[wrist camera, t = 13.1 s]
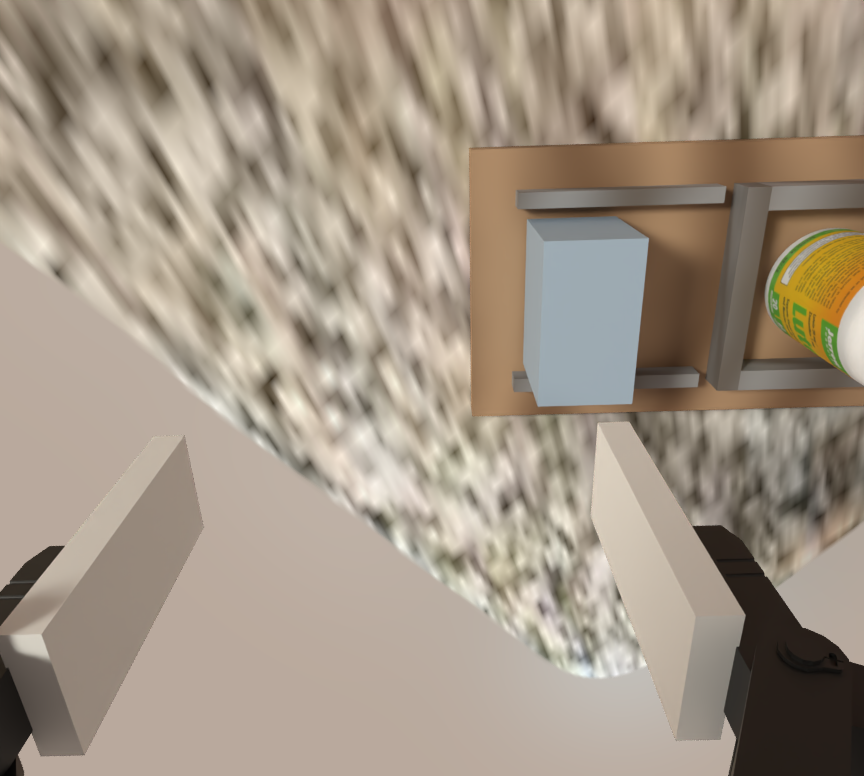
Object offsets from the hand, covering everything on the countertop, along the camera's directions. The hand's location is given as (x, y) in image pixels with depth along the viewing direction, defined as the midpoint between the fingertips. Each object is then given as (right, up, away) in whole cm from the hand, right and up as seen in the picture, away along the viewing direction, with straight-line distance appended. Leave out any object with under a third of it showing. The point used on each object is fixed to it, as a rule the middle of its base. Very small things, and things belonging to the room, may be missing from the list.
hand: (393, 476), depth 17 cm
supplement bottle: (+19, +7, +15) cm, 25 cm away
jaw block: (+7, +7, +15) cm, 18 cm away
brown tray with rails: (+14, +7, +16) cm, 22 cm away
